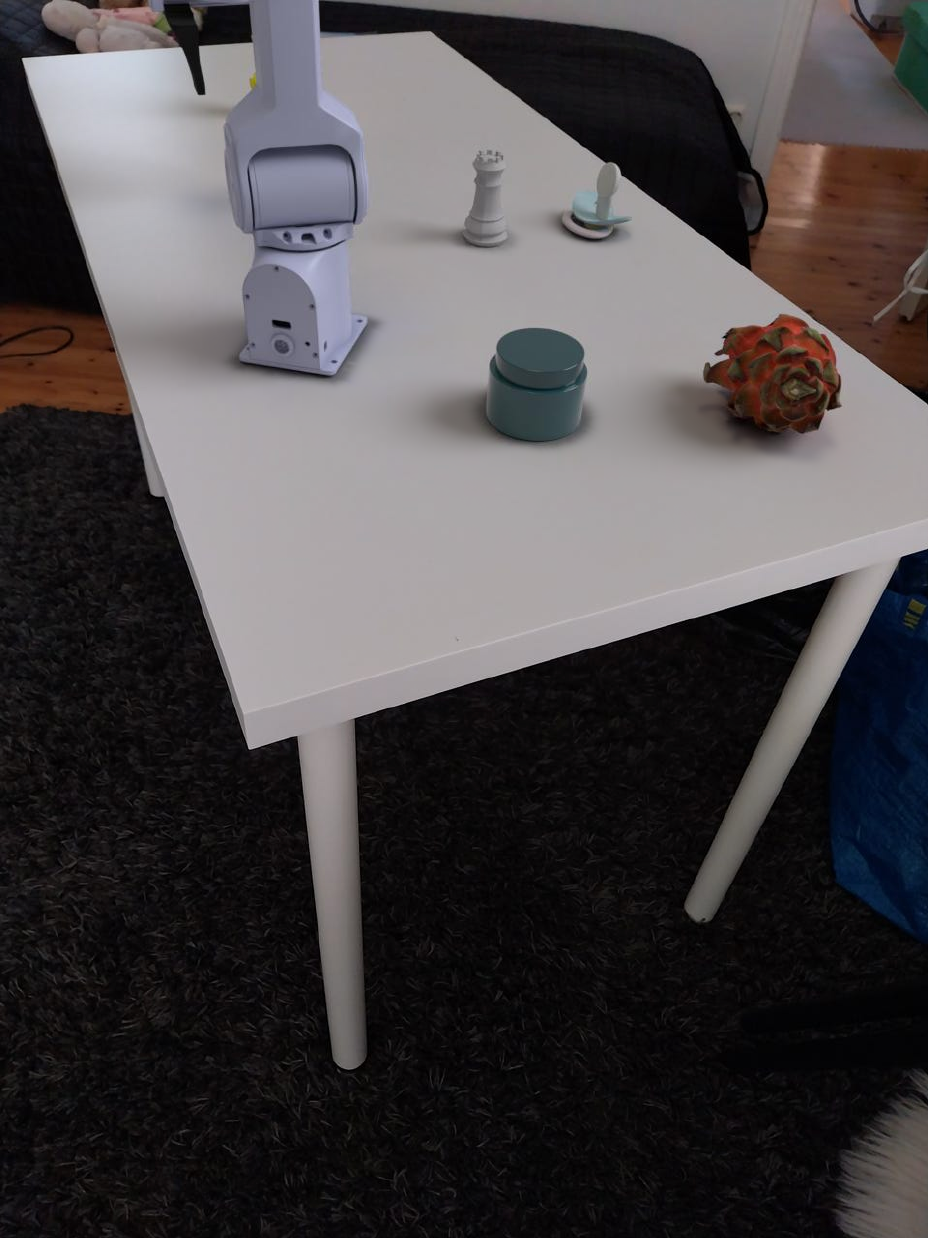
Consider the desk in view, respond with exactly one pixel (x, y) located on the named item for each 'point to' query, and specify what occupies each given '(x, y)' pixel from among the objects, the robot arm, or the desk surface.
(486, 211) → the rook chess piece
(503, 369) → the teal jar with lid
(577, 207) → the pacifier
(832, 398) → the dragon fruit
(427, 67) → the desk surface
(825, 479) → the desk surface
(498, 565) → the desk surface
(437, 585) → the desk surface
